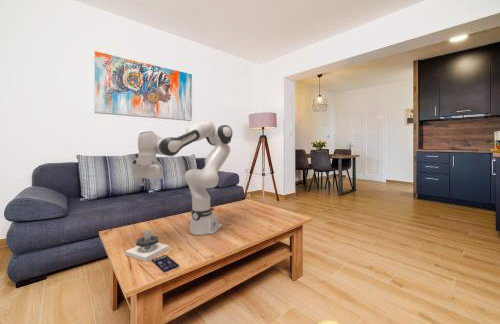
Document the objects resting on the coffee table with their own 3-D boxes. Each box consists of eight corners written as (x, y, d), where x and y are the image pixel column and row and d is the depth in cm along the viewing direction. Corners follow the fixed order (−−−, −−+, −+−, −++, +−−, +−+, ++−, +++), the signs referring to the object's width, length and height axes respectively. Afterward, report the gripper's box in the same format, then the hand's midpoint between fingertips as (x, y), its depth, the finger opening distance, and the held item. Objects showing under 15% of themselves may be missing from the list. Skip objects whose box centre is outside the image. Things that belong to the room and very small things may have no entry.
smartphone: (166, 254, 108) (180, 266, 97) (166, 255, 108) (180, 267, 97) (150, 259, 103) (163, 272, 92) (150, 261, 103) (163, 274, 92)
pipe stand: (149, 244, 120) (149, 225, 119) (168, 249, 114) (168, 229, 113) (125, 255, 107) (124, 234, 107) (145, 261, 101) (145, 239, 101)
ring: (148, 237, 117) (148, 234, 117) (162, 240, 113) (162, 237, 112) (132, 244, 108) (132, 241, 108) (146, 248, 104) (146, 245, 104)
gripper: (165, 161, 119) (166, 187, 119) (139, 160, 127) (140, 184, 128) (156, 162, 113) (156, 189, 114) (129, 161, 122) (130, 185, 123)
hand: (147, 186), depth 121 cm, fingers open, 8 cm apart
